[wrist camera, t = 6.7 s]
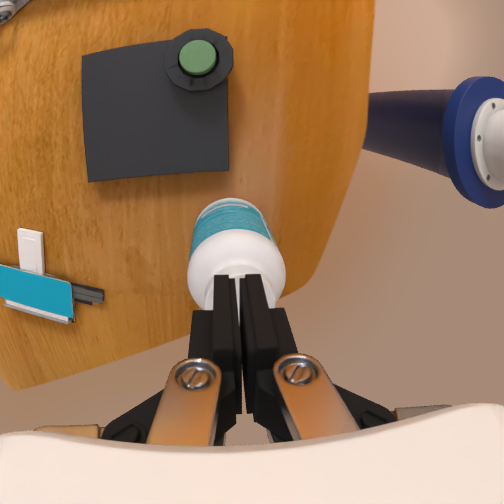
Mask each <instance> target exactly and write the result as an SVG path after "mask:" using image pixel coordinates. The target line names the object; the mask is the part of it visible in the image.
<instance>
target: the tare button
mask: <svg viewBox="0 0 504 504" xmlns="http://www.w3.org/2000/svg"><path fill="white" fill-rule="evenodd" d="M179 61H180V64H181V65H182V67H183V68H184V70H185V71H187V72H188V73H190V74H193V75H202V74H205V73H207V72H209V71H210V70H211V69H212V68H213V67H214V65H215V62H216V52H215V49H214V47H213V46H212V45H211V44H210V43H208V42H206V41H203V40H195V41H191V42H189V43H187V44H186V45H185V46H184V47H183V48H182V50H181V51H180V55H179Z"/></svg>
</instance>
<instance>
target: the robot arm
mask: <svg viewBox="0 0 504 504" xmlns="http://www.w3.org/2000/svg"><path fill="white" fill-rule="evenodd" d="M470 143H471V156H472V161H473V165H474V168H475V170H476V173H477V175H478V177H479V178H480V180H481V181H482V182H483V183H484V184H485V185H486V186H488V187H489V188H492V189H494V190H504V99H500V98H491V99H488V100H486V101H485V102H483V104H482V105H481V106H480V107H479V109H478V110H477V112H476V114H475V117H474V120H473V124H472V129H471V138H470ZM242 371H243V381H244V391H245V400H246V410H247V414H250V413H253V418H254V422H257V423H259V424H260V425H262V426H263V427H265V428H266V429H267V436H268V439H269V441H270V443H269V444H256V445H239V446H225V441H226V432H227V431H228V430H229V429H230V428H232V427H233V426H234V425H235V424H236V414H242ZM0 504H504V406H502V405H498V404H492V403H472V404H462V405H457V406H451V405H434V406H423V407H406V408H395V410H394V411H389V410H388V409H387V408H385V407H383V406H381V405H379V404H376V403H374V402H372V401H370V400H367V399H365V398H363V397H361V396H359V395H356V394H354V393H352V392H350V391H348V390H346V389H343V388H341V387H339V386H337V385H335V384H333V383H332V381H331V380H330V378H329V376H328V375H327V373H326V371H325V370H324V368H323V366H322V365H321V364H320V362H319V361H318V360H316V359H315V358H313V357H312V356H309V355H306V354H300V353H298V351H297V347H296V344H295V341H294V338H293V334H292V332H291V328H290V325H289V322H288V318H287V315H286V312H285V310H284V308H269V306H268V302H267V298H266V294H265V290H264V286H263V282H262V278H261V274H245V278H240V279H239V317H238V306H237V295H236V285H235V278H229V274H228V275H214V289H213V310H193V315H192V324H191V333H190V343H189V353H188V359H184V360H182V361H180V362H178V363H177V364H176V365H175V366H174V367H173V368H172V370H171V372H170V374H169V377H168V380H167V382H166V385H165V388H164V389H163V390H161V391H160V392H158V393H157V394H155V395H154V396H152V397H150V398H149V399H147V400H146V401H144V402H143V403H141V404H139V405H138V406H136V407H134V408H133V409H131V410H130V411H128V412H126V413H125V414H123V415H121V416H120V417H118V418H116V419H115V420H113V421H112V422H110V423H109V424H108V425H107V426H106V427H99V426H98V424H93V425H71V426H42V427H38V428H36V429H34V430H33V431H18V432H9V433H5V434H1V435H0Z"/></svg>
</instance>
